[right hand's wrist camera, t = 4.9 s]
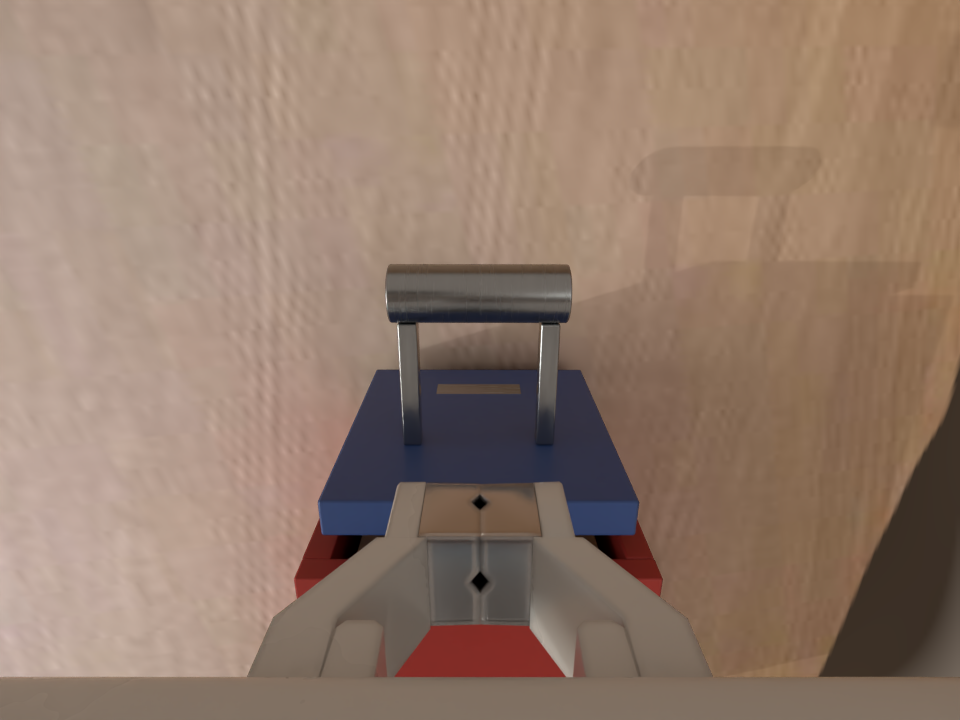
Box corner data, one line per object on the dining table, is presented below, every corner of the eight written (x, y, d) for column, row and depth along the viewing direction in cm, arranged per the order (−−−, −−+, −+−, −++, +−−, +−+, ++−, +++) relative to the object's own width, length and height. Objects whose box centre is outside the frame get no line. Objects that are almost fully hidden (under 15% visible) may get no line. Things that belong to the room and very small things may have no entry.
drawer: (366, 232, 23) (291, 293, 14) (590, 232, 23) (666, 293, 14) (399, 692, 32) (367, 912, 23) (557, 692, 32) (588, 912, 23)
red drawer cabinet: (369, 398, 26) (292, 578, 15) (587, 398, 26) (664, 578, 16) (393, 714, 34) (353, 983, 23) (562, 714, 34) (602, 982, 23)
